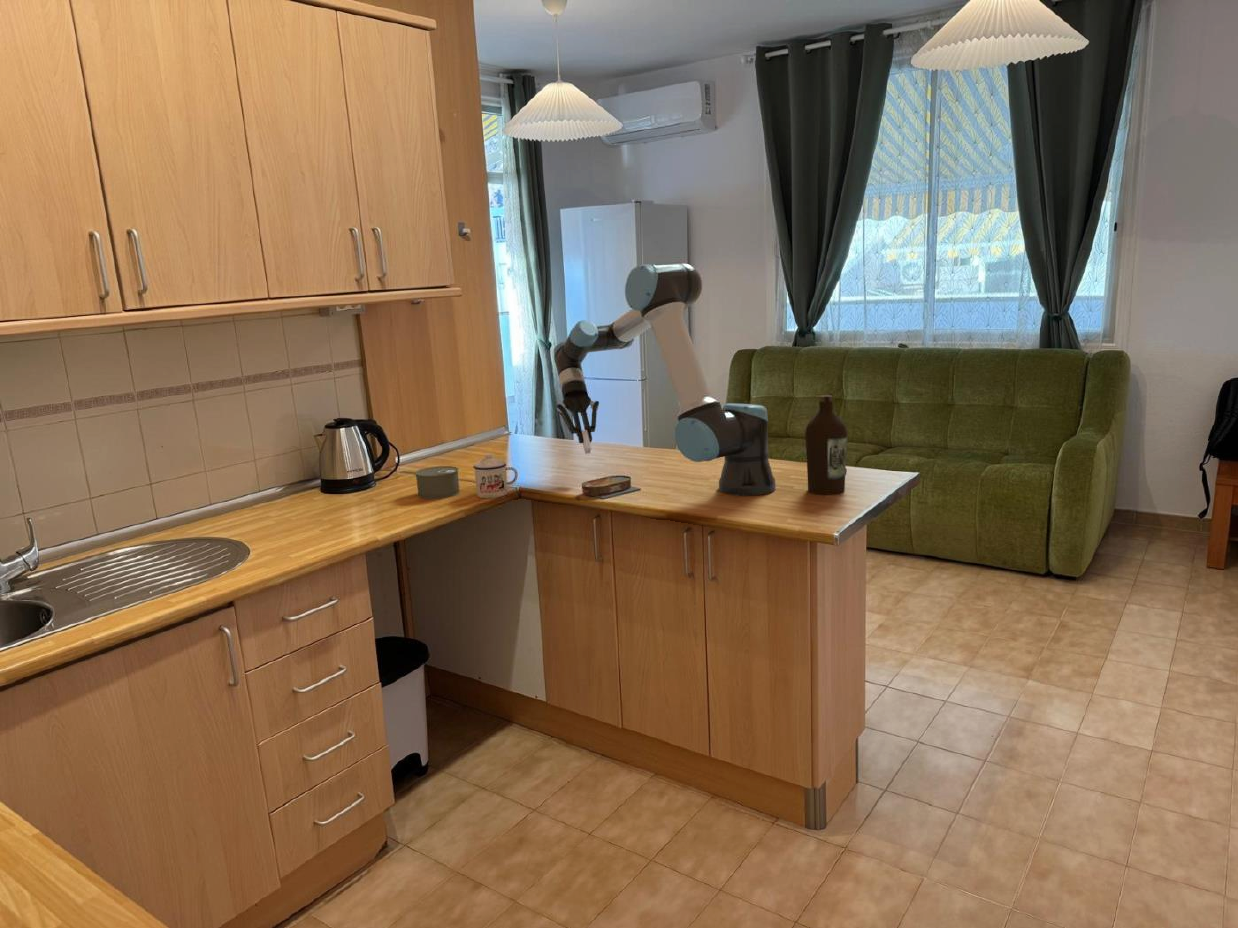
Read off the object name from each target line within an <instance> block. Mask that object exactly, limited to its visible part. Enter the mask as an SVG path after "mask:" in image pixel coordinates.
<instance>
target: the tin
mask: <svg viewBox="0 0 1238 928" xmlns="http://www.w3.org/2000/svg"><path fill="white" fill-rule="evenodd" d="M631 486H632V477H631V476H630V475H629V476H628V475H620V474H619V475H608V476H605V477H601V478H596V479H591V480H587V481H584V482H581V491H582V494H583V495H586V494H588V496H590V495H592V496H591V497H594V496H597V495H605V494H609V493H614V492H618V491H622V490H626V489H628V488H630V487H631Z"/></svg>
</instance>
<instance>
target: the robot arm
mask: <svg viewBox="0 0 1238 928" xmlns="http://www.w3.org/2000/svg"><path fill="white" fill-rule="evenodd" d="M624 286H625V287H624V296H625V300H626V303H627V305H628V306H629V308H630V310H628V311H627V312H625V314H623V315H622V316H620V317H619V318H617V319H616V320H614V321H613V322H612V323H610V324H605V325H598V326H596V325H595V324H594V323H593V322H591V321H587V320H585V319H583V320H580V321H577V322H576V324H575V325H574V326H573V328H572V329H571V330H570V332H569V334H568V336H567V339H566V340H565V341H560V342H559V343H558V344H556V345H555V346H554V348H553V359H554V363H555V367H556V372H557V375H558V381H559V385H560V390H561V394H562V399H563V400H562V403H561V404H557V407H556V412H557V413H558V414H559V415H560V416H561V417H562V420H563V422H564V423H565V425H566V427H567V429H568V431H569V433H570V434H571V435H573V434H575V435H576V436H577V439H578V443H579V444H582V445H583V451H584V454H585V455H586V454H589V455H590V454H591V450H592V446H591V443H592V441H593V436H592V433H595V431H596V427H597V413H598V409H599V406H600V405H599V404H600V401H599V400H595V401H594V400H592V399H591V397H590V396H589V394H588V393H589V392H588V389H587V385H586V380H585V376H584V372H583V369H582V368H583V367H582V363H583V361H584V360H585V358H586V356H588V354H589V353H594V352H595V353H596V352H602V351H611V350H612V351H613V350H614V351H615V350H623V349H626V348H629V347H631V346H632V345H633V342H634V341H635V339H636V338H637V337H638V336H640V335H641V334H643V333H644V332H646V331H648V330H649V329H651V328H652V331H653V335H654V337H655V340H656V343H657V346H658V348H659V351H660V352H659V353H660V354H661V358H662V360H663V364H664V366H665V368H666V371H667V374H668V377H669V380H670V383H671V387H672V389H673V391H674V395H675V398H676V400H677V403H678V406H679V412H678V414H677V417H676V418H677V421H678V422H677V423H676V425H675V427H674V433H673V435H674V442H675V444H676V446H677V449H678V451H679V452H680V453H681V455H683V456H684V457H685V459H687V460H689V461H692V462H696V463H702V462H711V461H713V460H715V459H719V458H724V463H723V466H722V469H721V474H720V478H719V479H718V490H719V491H720V492H721V493H723V494H726V495H733V496H758V495H764V494H768V493H772V492H774V491H776V485H777V484H776V479H775V477H774V475H773V471H772V468H771V465H770V462H769V461H770V460H769V419H768V410H767V408H766V407H765V406H763V405H761V404H753V403H752V404H751V403H749V404H748V403H730V402H729V403H725V404H723V406H722V404H721V402H720V401H719V400H717V399H715V398H714V397H712V395H711V392H710V389H709V386H708V383H707V380H706V377H705V375H704V372H703V369H702V366H701V364H700V361H699V357H698V356H697V353H696V349H695V346H694V344H693V341H692V337H691V336H690V333H689V329H688V327H687V324H686V322H685V319H684V316H683V312H684V310H686V309H687V308H689V307H690V306H692V305H693V304H694V303H696V302H697V301H698V299H699V298H700V296H701V294H702V291H703V280H702V277H701V274H700V273H699V272H698V270H697V269H696V268H695V267H694V266H692V265H691V264H688V263H686V262H681V261H680V262H679V261H678V262H666V263H664V262H663V263H651V262H649V263H645V264H640V265H637V266H635V267H634V268H632V269H631V270H630V272H629V274H628V275H627V278H626V283H625V285H624ZM589 407H590V408H591V423H590V422H589V417H588V413H587V410H588V409H589ZM567 410H568V411H569V412H570V413H571V415H572V418H573V421H572V418H571V416H570V414H569V413H568V411H567ZM579 415H580V416H579ZM580 417H581V420H582V423H581V421H580ZM581 424H582V425H583V428H584V429H582V425H581Z"/></svg>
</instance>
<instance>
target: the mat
mask: <svg viewBox="0 0 1238 928" xmlns="http://www.w3.org/2000/svg"><path fill="white" fill-rule="evenodd" d="M637 490H638V491H641V490H642V488H641V487H636V486H633V485H631V487H630V488H628V489H626V490H622V491H618V492H614V493H609V494H605V495H597V496H592V495H588V494H585V495H586V496H587V495H588V496H590V497H594V498H598V499H600V500H605V499H610V498H614V497H618V496H621V495H625V494H630V493H634V492H637Z"/></svg>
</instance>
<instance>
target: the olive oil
mask: <svg viewBox="0 0 1238 928" xmlns="http://www.w3.org/2000/svg"><path fill="white" fill-rule="evenodd" d="M818 403H819V404H818V406H819V409H818V412H817V413H816V414H815V415H814V416H813V417H812V418H811V419H810V421H808V423H807V425H806V426H805V427H806V428H805V433H804V435H805V436H804V438H805V453H806V469H807V471H806V473H807V490H808V492H810V493H811V494H817V495H836V494H842V493H843V492H844V491H845V489H846V476H847V471H848V470H847V468H846V465H847V449H848V447H847V446H848V445H847V444H848V429H847V427H846V424H845V422H844V421H843V419H842V418H840V416H838V414H836V412H835V411H834V410H833V409H834V408H833V405H834V401H833V395H830V394H827V395H826V394H824V395H823V394H822V395H820V396H819V402H818Z"/></svg>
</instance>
